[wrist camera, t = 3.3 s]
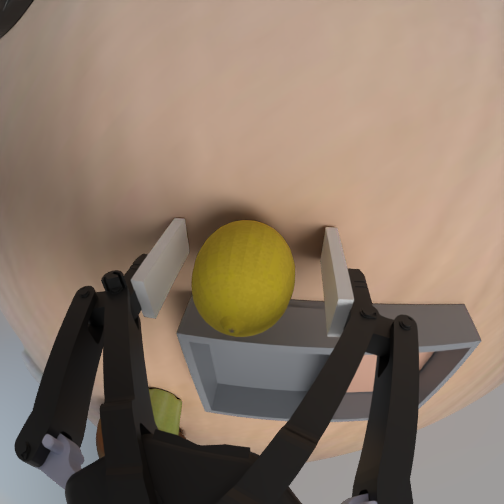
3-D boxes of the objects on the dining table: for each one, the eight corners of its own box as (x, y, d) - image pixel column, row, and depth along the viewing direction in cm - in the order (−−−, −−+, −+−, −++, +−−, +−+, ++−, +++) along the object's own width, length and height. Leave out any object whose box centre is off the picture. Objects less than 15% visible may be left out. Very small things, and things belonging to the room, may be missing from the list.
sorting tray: (193, 290, 22) (176, 333, 18) (464, 304, 19) (481, 340, 16) (213, 379, 31) (205, 411, 27) (406, 385, 28) (411, 415, 24)
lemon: (286, 275, 20) (280, 371, 13) (211, 262, 20) (176, 351, 14) (303, 206, 17) (308, 298, 10) (214, 192, 17) (166, 272, 10)
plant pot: (196, 395, 35) (181, 448, 27) (190, 413, 40) (178, 457, 33) (134, 374, 34) (114, 424, 27) (138, 396, 39) (123, 437, 32)
